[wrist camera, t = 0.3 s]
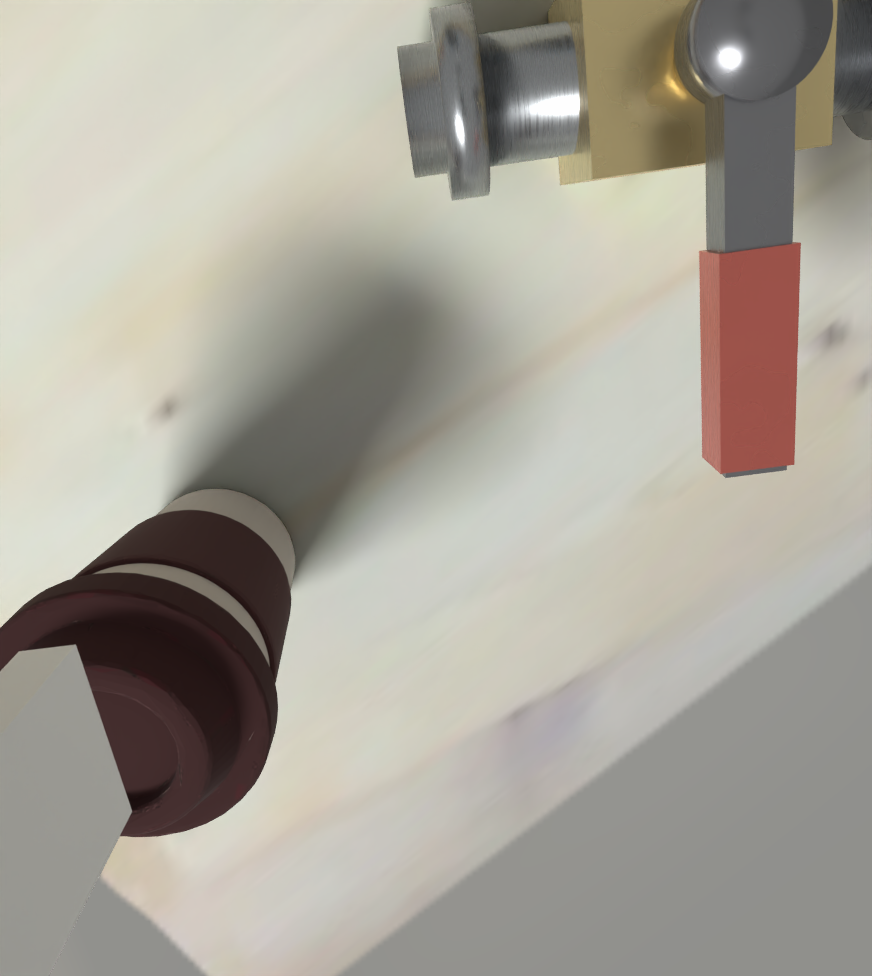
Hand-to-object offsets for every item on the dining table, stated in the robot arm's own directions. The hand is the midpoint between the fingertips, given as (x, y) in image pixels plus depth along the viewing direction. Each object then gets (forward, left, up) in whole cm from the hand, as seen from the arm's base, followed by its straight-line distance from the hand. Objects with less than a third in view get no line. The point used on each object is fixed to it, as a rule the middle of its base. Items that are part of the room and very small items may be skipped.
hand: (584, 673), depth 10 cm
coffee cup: (+9, -14, -26) cm, 31 cm away
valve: (-9, +8, -26) cm, 29 cm away
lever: (-4, +8, -17) cm, 19 cm away
